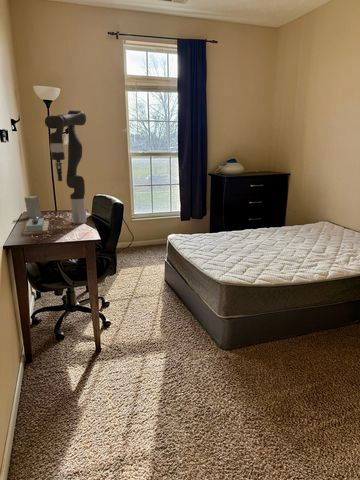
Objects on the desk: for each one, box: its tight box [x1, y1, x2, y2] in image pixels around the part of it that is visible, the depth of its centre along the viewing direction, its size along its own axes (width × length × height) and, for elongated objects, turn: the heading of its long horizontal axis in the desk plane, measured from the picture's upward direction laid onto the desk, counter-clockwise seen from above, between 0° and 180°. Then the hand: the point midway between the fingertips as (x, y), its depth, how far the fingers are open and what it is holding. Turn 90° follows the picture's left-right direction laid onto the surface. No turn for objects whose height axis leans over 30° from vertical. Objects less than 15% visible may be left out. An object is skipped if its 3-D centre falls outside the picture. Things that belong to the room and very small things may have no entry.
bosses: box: [32, 217, 40, 225], centre depth 211 cm, size 12×4×5 cm, turn 20°
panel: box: [25, 217, 45, 232], centre depth 208 cm, size 21×9×4 cm, turn 20°
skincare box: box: [24, 195, 43, 219], centre depth 243 cm, size 8×7×16 cm
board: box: [22, 219, 50, 235], centre depth 213 cm, size 30×14×2 cm, turn 20°
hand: (60, 181), depth 195 cm, fingers closed
